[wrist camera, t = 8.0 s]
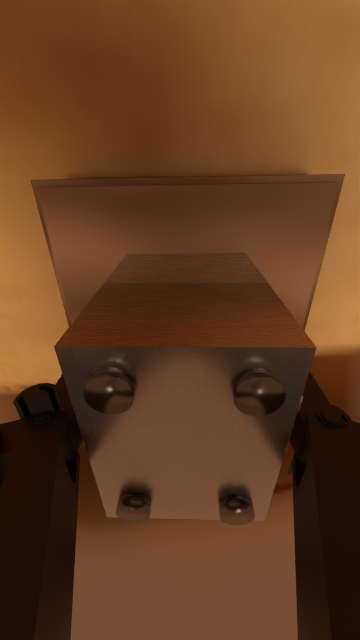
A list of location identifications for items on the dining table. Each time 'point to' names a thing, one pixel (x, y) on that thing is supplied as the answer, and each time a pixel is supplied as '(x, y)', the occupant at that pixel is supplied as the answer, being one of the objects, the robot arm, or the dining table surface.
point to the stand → (189, 227)
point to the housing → (185, 386)
